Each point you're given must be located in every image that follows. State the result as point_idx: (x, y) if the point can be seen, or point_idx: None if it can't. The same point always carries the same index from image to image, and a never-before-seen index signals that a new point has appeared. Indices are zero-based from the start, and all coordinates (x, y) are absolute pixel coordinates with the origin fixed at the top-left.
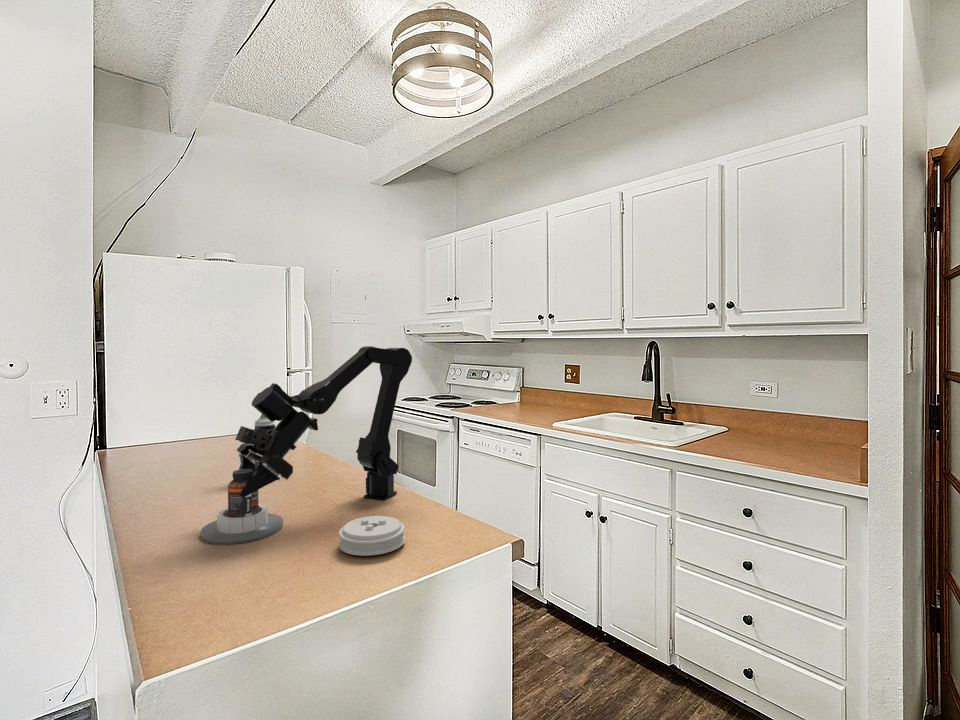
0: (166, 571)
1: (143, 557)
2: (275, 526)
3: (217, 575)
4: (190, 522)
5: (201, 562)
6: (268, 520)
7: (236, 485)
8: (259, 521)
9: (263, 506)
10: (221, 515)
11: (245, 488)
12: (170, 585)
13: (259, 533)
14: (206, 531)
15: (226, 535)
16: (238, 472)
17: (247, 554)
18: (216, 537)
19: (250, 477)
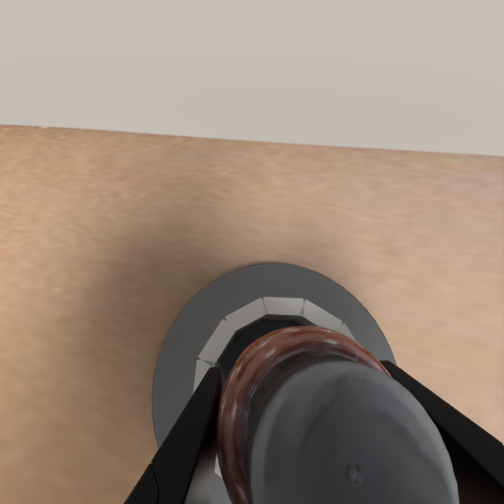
0: (140, 181)
1: (246, 165)
2: None
3: (32, 242)
4: (433, 275)
5: (128, 235)
6: None
7: (247, 358)
8: None
9: None
10: (286, 308)
11: (188, 402)
12: (71, 175)
13: (161, 399)
14: (291, 278)
15: (220, 311)
16: (299, 404)
17: (82, 326)
18: (223, 286)
19: (185, 488)
